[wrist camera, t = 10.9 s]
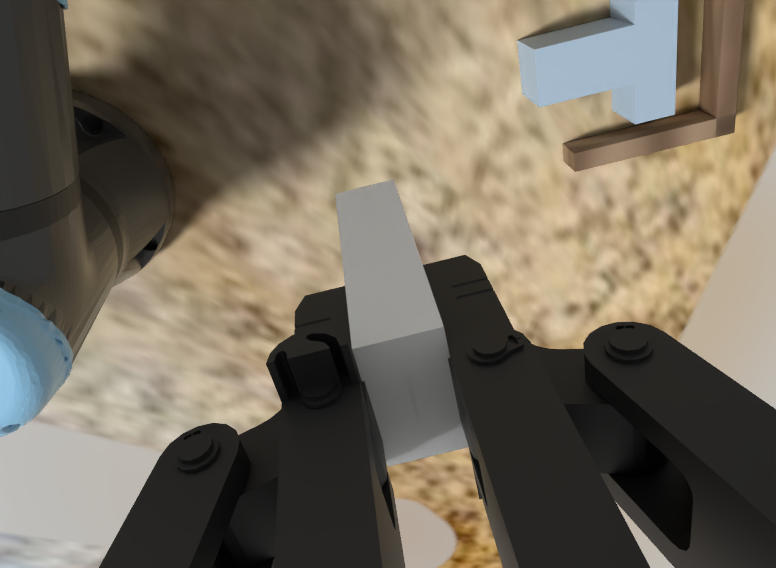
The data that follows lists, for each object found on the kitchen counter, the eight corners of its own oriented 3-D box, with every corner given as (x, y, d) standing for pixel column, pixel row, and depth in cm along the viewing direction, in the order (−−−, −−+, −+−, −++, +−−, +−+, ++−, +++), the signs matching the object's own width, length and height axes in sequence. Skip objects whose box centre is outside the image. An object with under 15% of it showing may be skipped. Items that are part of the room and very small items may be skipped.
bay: (563, 161, 50) (575, 171, 48) (549, -57, 42) (561, -56, 40) (716, 123, 50) (734, 132, 48) (730, -103, 42) (753, -104, 40)
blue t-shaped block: (525, 131, 49) (542, 147, 46) (512, -4, 44) (530, 2, 40) (648, 101, 49) (674, 114, 45) (650, -38, 44) (679, -35, 40)
